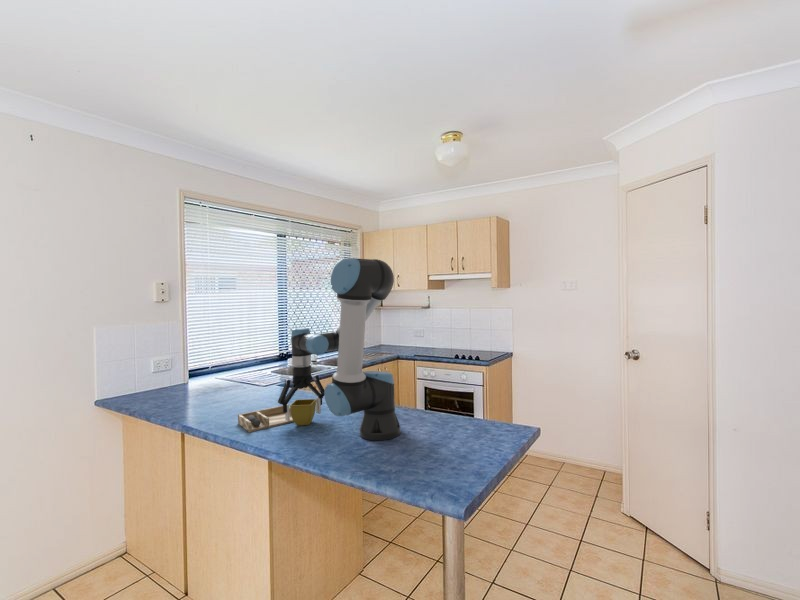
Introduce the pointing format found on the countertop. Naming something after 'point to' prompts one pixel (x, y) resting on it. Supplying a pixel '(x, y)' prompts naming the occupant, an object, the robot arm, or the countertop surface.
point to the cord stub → (253, 420)
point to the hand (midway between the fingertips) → (303, 416)
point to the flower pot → (303, 411)
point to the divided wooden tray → (264, 418)
